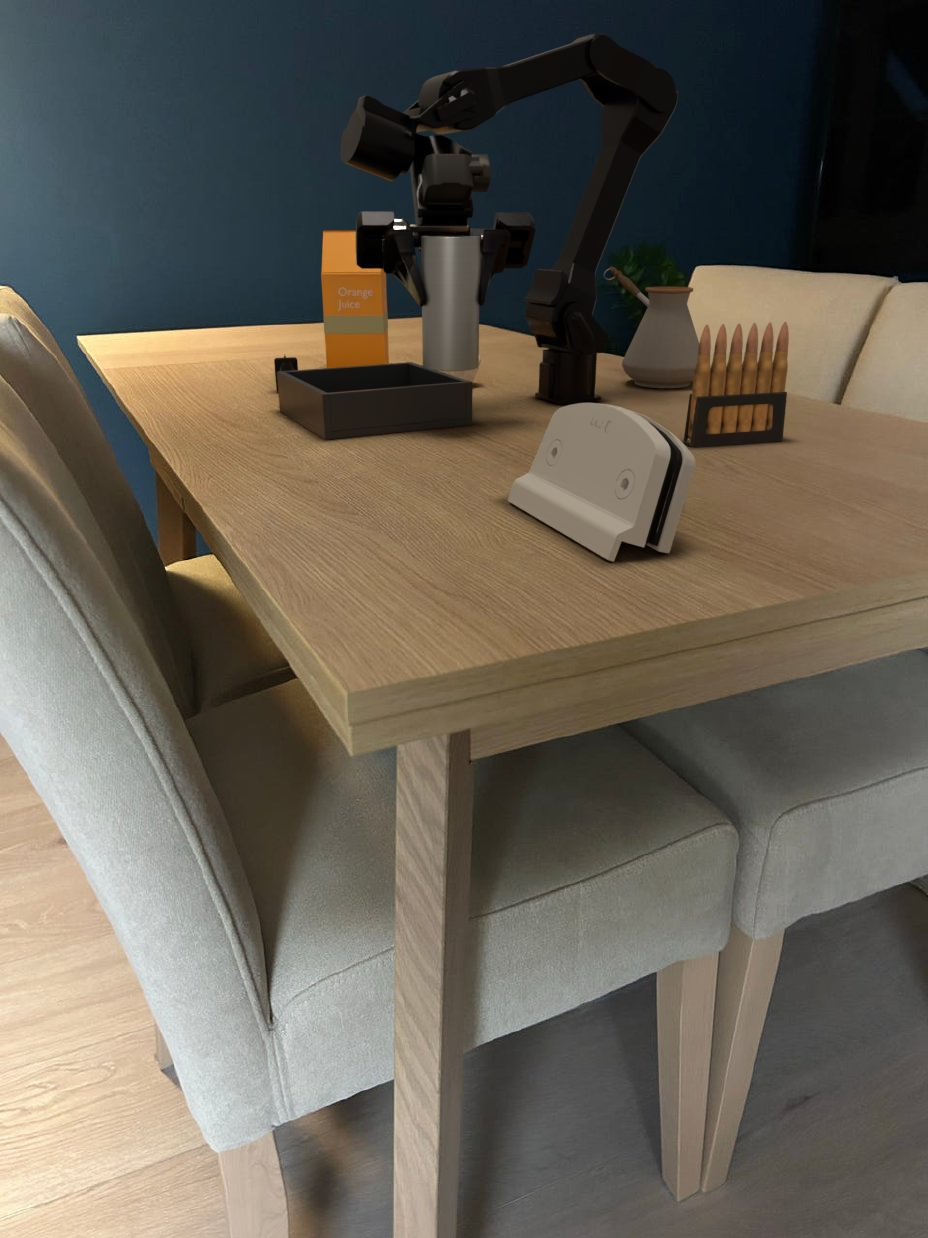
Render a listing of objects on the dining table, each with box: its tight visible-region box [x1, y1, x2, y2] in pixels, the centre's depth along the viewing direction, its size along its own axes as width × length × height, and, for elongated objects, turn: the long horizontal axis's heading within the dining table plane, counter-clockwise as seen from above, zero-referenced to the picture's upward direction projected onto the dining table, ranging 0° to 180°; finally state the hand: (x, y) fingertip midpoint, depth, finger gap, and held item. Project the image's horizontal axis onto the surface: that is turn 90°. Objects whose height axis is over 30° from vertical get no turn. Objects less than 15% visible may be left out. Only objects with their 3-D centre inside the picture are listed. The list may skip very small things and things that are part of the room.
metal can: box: [420, 236, 480, 371], centre depth 98 cm, size 6×6×13 cm
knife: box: [273, 354, 299, 392], centre depth 129 cm, size 31×3×4 cm, turn 8°
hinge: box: [507, 402, 696, 563], centre depth 71 cm, size 17×5×10 cm, turn 23°
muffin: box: [440, 354, 482, 383], centre depth 130 cm, size 6×6×7 cm
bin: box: [277, 361, 474, 441], centre depth 110 cm, size 18×18×5 cm
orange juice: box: [320, 230, 390, 368], centre depth 140 cm, size 8×9×20 cm
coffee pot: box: [603, 265, 700, 389], centre depth 133 cm, size 21×12×15 cm, turn 24°
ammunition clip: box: [682, 321, 790, 448], centre depth 96 cm, size 11×2×12 cm, turn 105°
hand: (452, 303), depth 97 cm, fingers closed on metal can, 6 cm apart
